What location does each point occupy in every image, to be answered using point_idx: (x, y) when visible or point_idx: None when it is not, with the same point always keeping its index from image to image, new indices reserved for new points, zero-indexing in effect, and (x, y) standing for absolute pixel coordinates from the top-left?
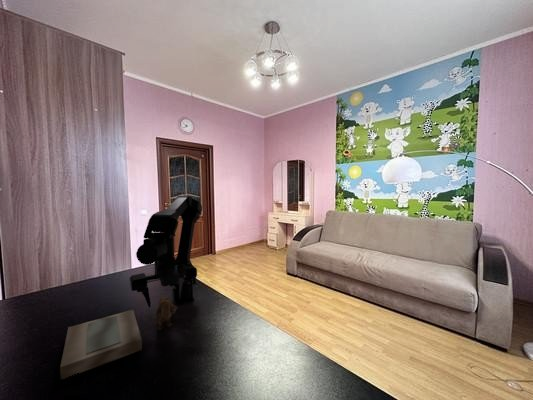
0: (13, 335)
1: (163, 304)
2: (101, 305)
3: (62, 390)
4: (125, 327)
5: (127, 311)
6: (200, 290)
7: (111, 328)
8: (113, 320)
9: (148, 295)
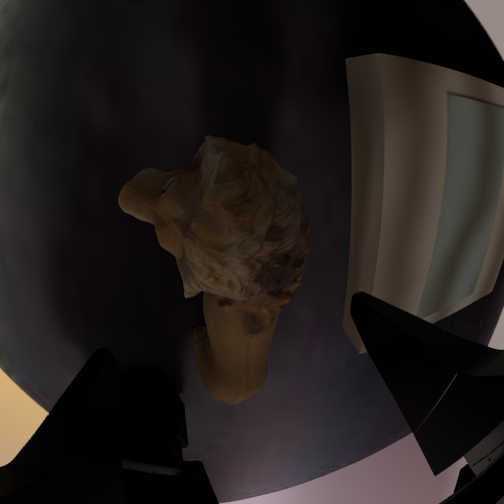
0: (497, 312)
1: (288, 217)
2: (385, 395)
3: (492, 51)
4: (421, 216)
5: None
6: None
7: (454, 231)
8: (434, 289)
9: (440, 353)
